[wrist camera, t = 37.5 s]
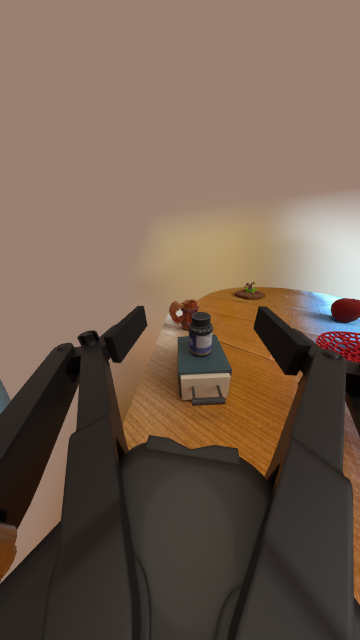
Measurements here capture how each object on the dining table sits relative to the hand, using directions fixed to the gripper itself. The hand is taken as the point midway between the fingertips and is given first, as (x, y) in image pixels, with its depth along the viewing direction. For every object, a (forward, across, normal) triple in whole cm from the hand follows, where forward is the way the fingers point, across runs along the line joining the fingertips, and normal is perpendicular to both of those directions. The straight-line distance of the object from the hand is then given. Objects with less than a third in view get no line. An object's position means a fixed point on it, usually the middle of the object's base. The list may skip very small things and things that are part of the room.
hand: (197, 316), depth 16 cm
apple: (+55, +71, -28) cm, 94 cm away
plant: (+99, +41, -28) cm, 110 cm away
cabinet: (+16, +1, -28) cm, 32 cm away
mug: (+44, -7, -28) cm, 53 cm away
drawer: (+12, +1, -27) cm, 30 cm away
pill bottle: (+16, +1, -19) cm, 24 cm away
